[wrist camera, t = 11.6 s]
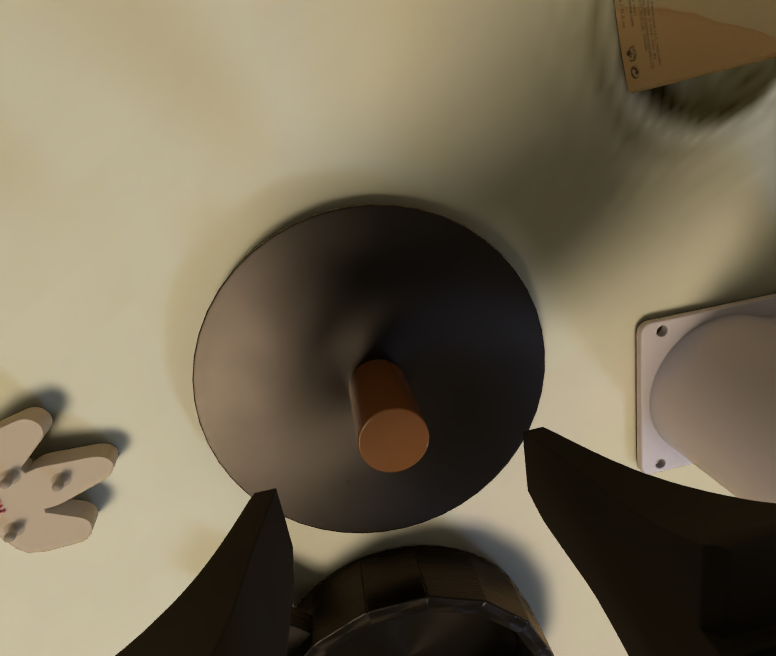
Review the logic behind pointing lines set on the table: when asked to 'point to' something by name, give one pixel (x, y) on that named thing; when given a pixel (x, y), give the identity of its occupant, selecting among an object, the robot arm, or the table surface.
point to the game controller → (46, 485)
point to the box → (691, 38)
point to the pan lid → (369, 367)
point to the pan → (416, 609)
